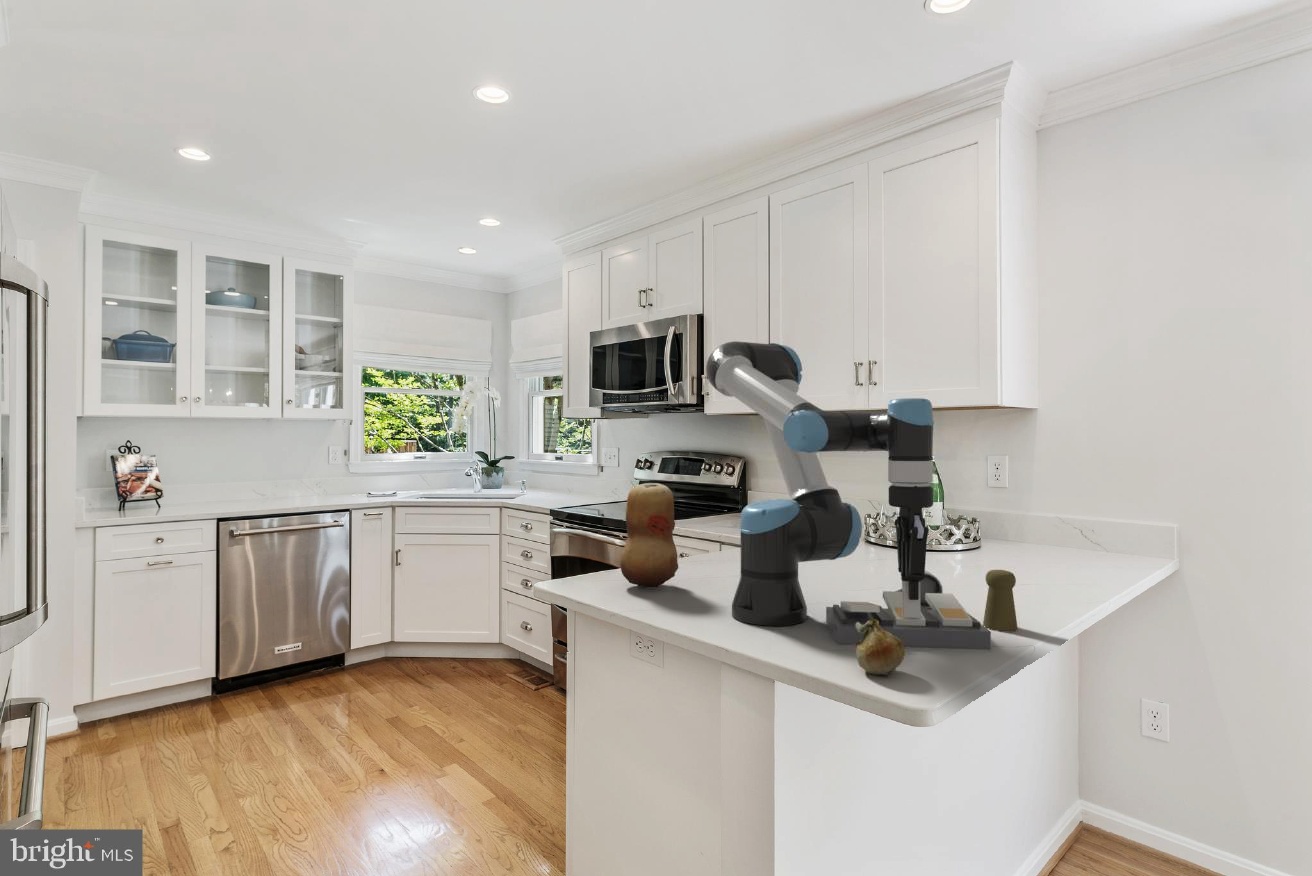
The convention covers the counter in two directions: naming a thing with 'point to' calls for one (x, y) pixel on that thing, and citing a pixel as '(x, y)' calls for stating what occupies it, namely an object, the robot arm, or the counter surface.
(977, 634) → the rocker switch panel
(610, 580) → the counter surface
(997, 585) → the cork
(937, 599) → the right rocker
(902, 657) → the onion
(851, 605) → the left rocker
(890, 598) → the block
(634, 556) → the butternut squash
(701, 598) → the counter surface
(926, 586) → the ceramic mug
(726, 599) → the counter surface
